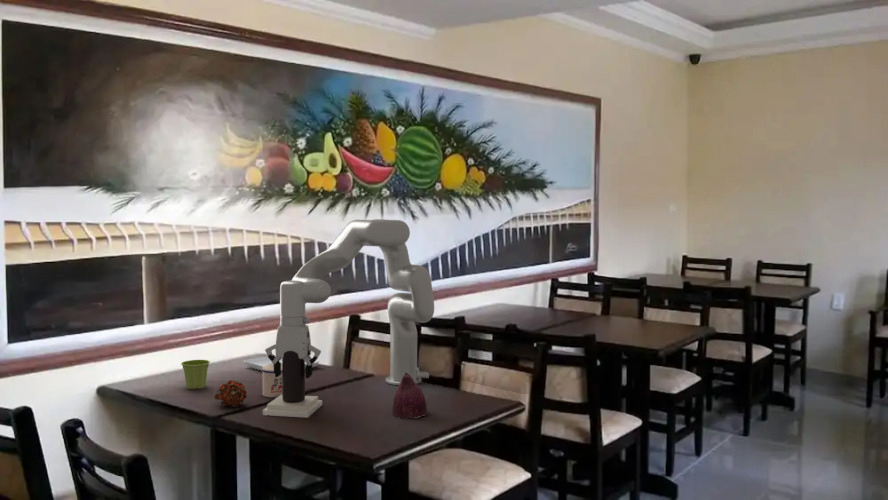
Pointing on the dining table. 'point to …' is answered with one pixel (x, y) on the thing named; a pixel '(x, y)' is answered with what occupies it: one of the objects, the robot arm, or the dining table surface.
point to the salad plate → (266, 362)
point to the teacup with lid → (271, 382)
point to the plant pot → (195, 373)
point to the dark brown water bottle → (293, 377)
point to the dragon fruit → (231, 393)
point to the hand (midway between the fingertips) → (293, 376)
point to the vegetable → (409, 399)
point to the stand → (293, 407)
